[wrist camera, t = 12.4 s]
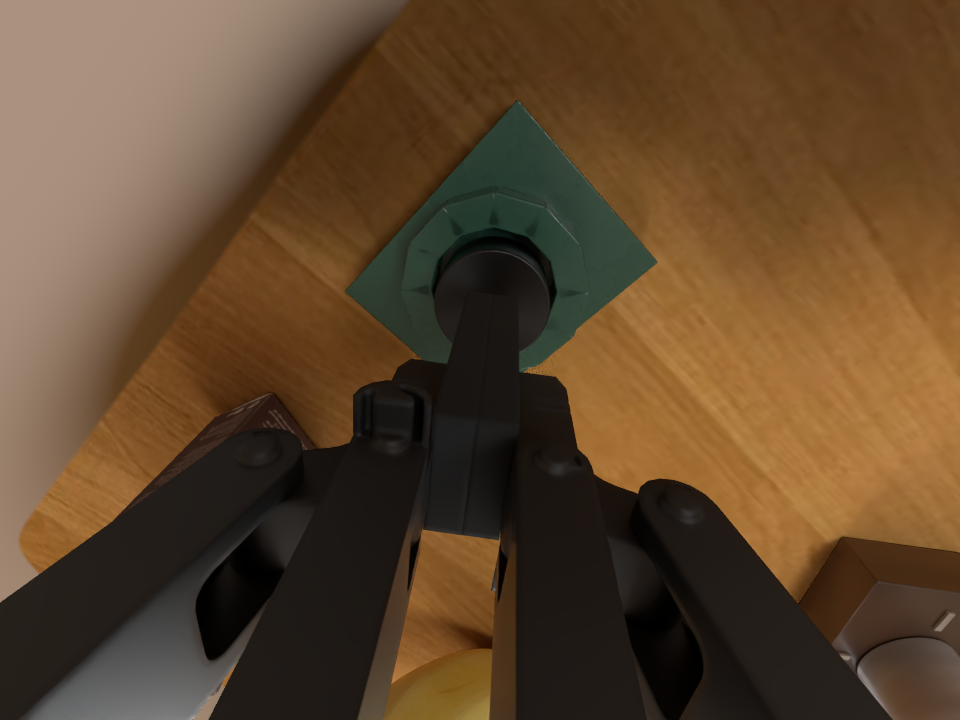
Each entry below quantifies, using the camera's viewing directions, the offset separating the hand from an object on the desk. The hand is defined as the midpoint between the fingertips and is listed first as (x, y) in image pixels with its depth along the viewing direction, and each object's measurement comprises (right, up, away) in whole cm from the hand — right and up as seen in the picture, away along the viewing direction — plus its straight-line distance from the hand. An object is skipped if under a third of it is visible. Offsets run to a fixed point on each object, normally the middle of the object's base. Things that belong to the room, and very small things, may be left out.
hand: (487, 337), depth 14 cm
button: (0, +2, +4) cm, 4 cm away
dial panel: (+24, -17, +15) cm, 33 cm away
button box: (+1, +4, +7) cm, 8 cm away
